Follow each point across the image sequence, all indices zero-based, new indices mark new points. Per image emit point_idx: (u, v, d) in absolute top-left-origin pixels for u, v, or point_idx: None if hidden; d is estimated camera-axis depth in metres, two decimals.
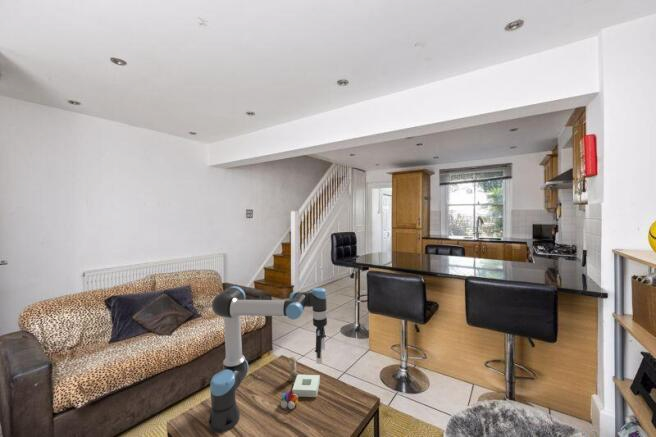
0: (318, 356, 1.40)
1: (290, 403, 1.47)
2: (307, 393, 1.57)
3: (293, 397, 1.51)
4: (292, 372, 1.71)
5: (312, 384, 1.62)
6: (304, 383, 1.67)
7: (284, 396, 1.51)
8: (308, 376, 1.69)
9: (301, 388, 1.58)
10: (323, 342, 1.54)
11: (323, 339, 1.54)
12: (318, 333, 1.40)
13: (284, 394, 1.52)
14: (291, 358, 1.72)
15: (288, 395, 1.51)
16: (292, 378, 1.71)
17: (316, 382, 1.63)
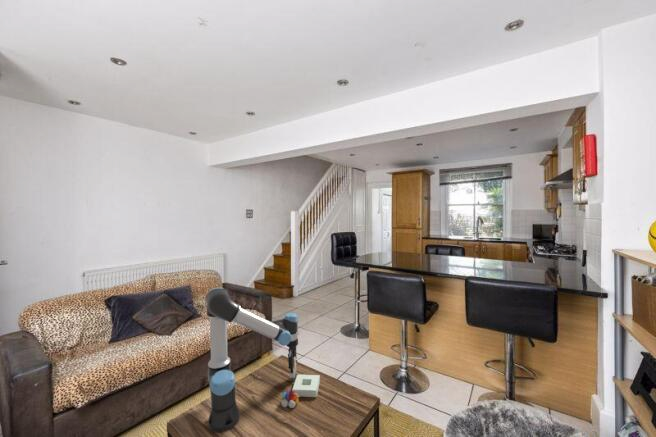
0: (291, 371, 1.69)
1: (291, 402, 1.48)
2: (307, 393, 1.57)
3: (294, 396, 1.51)
4: None
5: (312, 384, 1.62)
6: (304, 383, 1.67)
7: (285, 395, 1.51)
8: (308, 376, 1.69)
9: (301, 388, 1.58)
10: None
11: None
12: (289, 355, 1.66)
13: (285, 393, 1.52)
14: None
15: (289, 394, 1.51)
16: (292, 378, 1.71)
17: (316, 382, 1.63)
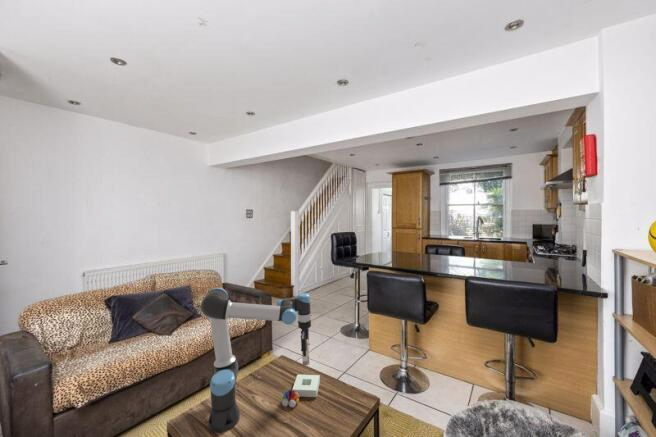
0: (304, 354, 1.59)
1: (291, 401, 1.48)
2: (307, 393, 1.57)
3: (294, 395, 1.52)
4: None
5: (312, 384, 1.62)
6: (304, 383, 1.67)
7: (285, 394, 1.52)
8: (308, 376, 1.69)
9: (301, 388, 1.58)
10: None
11: None
12: (302, 337, 1.56)
13: (285, 392, 1.53)
14: None
15: (289, 393, 1.52)
16: (305, 362, 1.61)
17: (316, 382, 1.63)
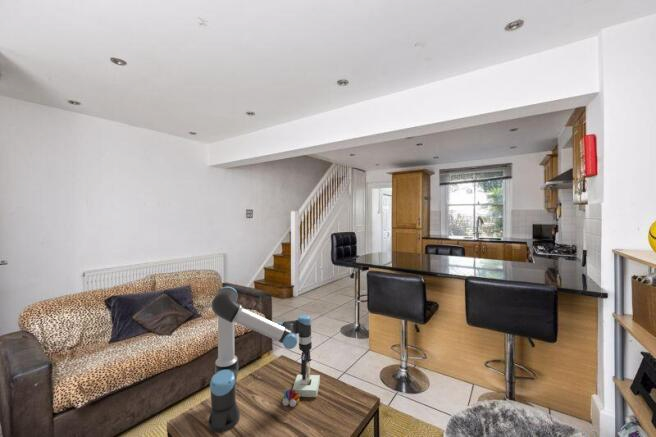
0: (303, 378, 1.56)
1: (292, 401, 1.49)
2: (307, 393, 1.57)
3: (295, 395, 1.52)
4: None
5: (312, 384, 1.62)
6: None
7: (286, 394, 1.52)
8: None
9: (301, 388, 1.58)
10: None
11: (308, 363, 1.69)
12: (303, 358, 1.56)
13: (286, 392, 1.53)
14: None
15: (290, 393, 1.52)
16: None
17: (316, 382, 1.63)
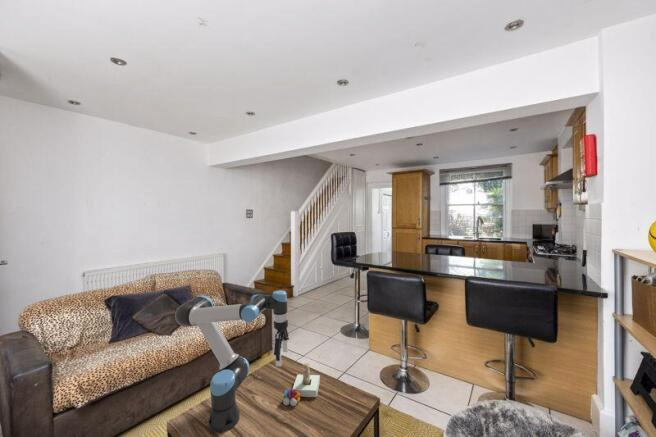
0: (277, 359, 1.40)
1: (292, 400, 1.49)
2: (307, 393, 1.57)
3: (295, 394, 1.53)
4: (306, 380, 1.62)
5: (312, 384, 1.62)
6: None
7: (286, 393, 1.53)
8: None
9: (301, 388, 1.58)
10: (286, 344, 1.55)
11: (286, 341, 1.55)
12: (277, 336, 1.41)
13: (286, 391, 1.54)
14: (304, 365, 1.63)
15: (290, 392, 1.53)
16: None
17: (316, 382, 1.63)
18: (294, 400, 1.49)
